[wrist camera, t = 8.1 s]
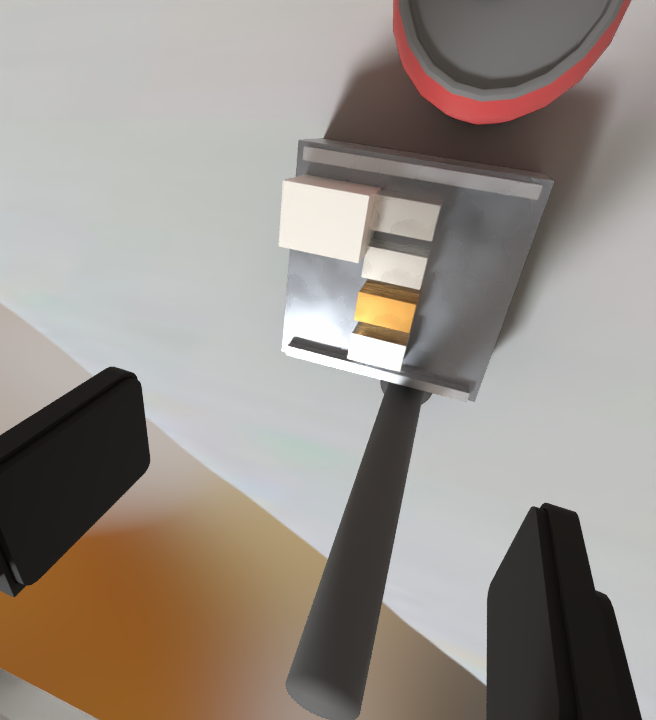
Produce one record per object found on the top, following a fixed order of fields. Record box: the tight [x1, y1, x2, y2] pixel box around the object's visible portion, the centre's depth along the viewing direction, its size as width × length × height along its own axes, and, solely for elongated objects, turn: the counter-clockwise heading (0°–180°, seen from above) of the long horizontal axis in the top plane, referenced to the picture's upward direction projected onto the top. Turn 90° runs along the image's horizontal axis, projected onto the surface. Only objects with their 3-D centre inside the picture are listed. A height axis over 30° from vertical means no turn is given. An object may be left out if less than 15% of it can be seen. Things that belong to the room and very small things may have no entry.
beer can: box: [393, 0, 631, 125], centre depth 16 cm, size 7×7×12 cm
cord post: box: [286, 380, 432, 720], centre depth 22 cm, size 4×4×20 cm
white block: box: [279, 174, 382, 263], centre depth 21 cm, size 4×3×3 cm
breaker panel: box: [282, 138, 555, 402], centre depth 24 cm, size 12×12×6 cm
